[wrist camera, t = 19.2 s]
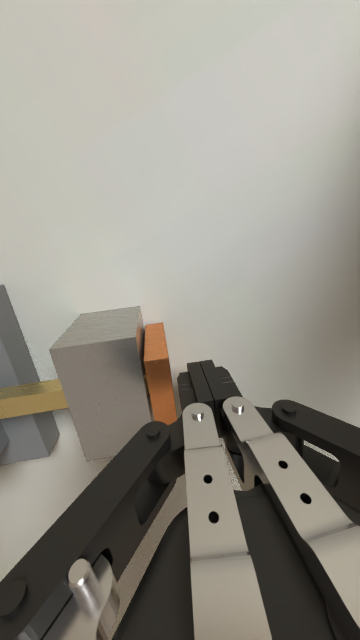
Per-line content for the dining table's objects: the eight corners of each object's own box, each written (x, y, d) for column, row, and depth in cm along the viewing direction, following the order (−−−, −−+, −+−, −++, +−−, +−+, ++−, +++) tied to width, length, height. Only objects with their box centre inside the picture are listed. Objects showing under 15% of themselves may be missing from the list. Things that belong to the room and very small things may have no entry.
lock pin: (163, 322, 16) (168, 358, 11) (170, 376, 17) (178, 427, 13) (-25, 349, 15) (-105, 400, 10) (0, 404, 16) (-59, 470, 12)
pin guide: (81, 314, 15) (48, 349, 10) (139, 306, 16) (135, 336, 11) (103, 399, 18) (86, 461, 13) (154, 391, 18) (156, 448, 13)
